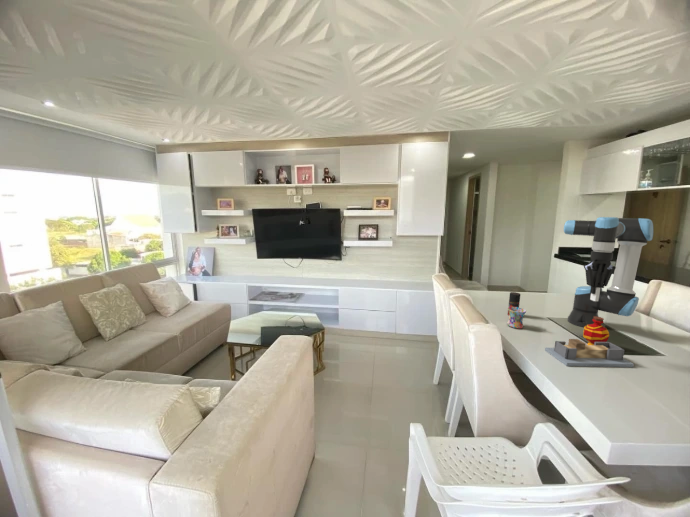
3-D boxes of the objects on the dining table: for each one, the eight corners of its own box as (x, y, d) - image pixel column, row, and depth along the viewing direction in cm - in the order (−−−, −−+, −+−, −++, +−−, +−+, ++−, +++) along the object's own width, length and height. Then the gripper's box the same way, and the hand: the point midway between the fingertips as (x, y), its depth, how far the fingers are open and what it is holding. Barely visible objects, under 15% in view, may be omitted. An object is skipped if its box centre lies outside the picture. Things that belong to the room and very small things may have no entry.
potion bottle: (602, 352, 135) (607, 323, 133) (576, 343, 144) (581, 316, 142) (611, 347, 140) (616, 319, 137) (586, 339, 149) (590, 312, 146)
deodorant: (505, 313, 186) (507, 292, 183) (513, 313, 186) (516, 292, 183) (511, 317, 180) (513, 294, 177) (520, 316, 180) (522, 294, 178)
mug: (522, 331, 159) (524, 313, 157) (504, 326, 165) (506, 309, 163) (526, 324, 168) (528, 308, 166) (509, 320, 174) (510, 304, 172)
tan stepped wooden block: (601, 353, 131) (603, 339, 130) (609, 358, 127) (612, 343, 126) (562, 352, 132) (564, 338, 131) (570, 357, 127) (572, 343, 126)
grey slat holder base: (604, 351, 136) (606, 338, 135) (633, 367, 122) (635, 353, 121) (544, 350, 137) (546, 338, 136) (566, 365, 123) (568, 352, 122)
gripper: (609, 250, 130) (601, 298, 134) (581, 249, 131) (573, 297, 135) (624, 252, 123) (615, 303, 127) (594, 252, 123) (586, 302, 127)
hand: (594, 300), depth 131 cm, fingers closed
